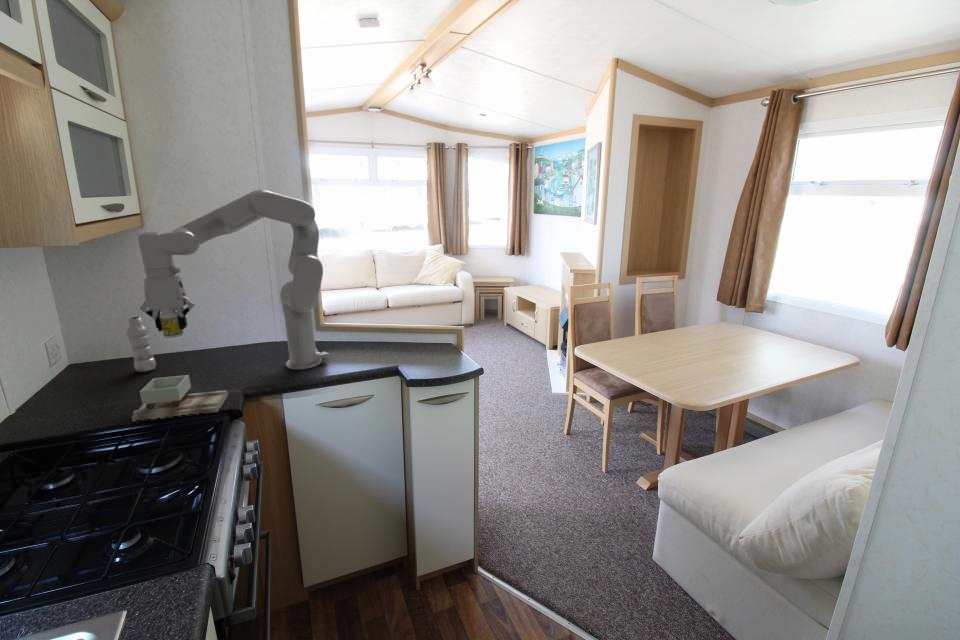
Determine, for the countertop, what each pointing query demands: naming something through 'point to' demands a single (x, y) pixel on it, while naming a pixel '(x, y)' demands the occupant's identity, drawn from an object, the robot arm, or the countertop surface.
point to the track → (184, 406)
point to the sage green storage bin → (165, 390)
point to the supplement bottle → (170, 323)
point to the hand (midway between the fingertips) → (172, 328)
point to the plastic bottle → (140, 345)
